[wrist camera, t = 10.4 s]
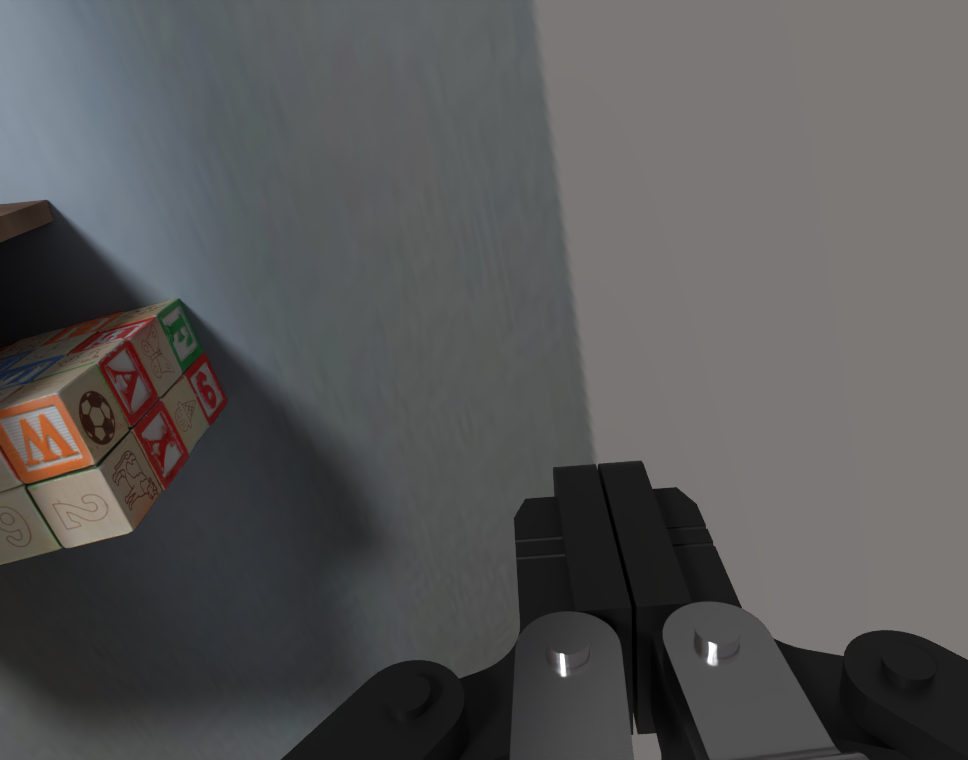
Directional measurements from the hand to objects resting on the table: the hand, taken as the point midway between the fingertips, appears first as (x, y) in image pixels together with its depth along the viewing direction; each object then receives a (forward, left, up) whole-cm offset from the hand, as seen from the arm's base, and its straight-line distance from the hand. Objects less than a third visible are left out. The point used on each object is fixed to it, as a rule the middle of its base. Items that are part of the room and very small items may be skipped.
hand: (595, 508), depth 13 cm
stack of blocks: (+7, -27, -26) cm, 39 cm away
